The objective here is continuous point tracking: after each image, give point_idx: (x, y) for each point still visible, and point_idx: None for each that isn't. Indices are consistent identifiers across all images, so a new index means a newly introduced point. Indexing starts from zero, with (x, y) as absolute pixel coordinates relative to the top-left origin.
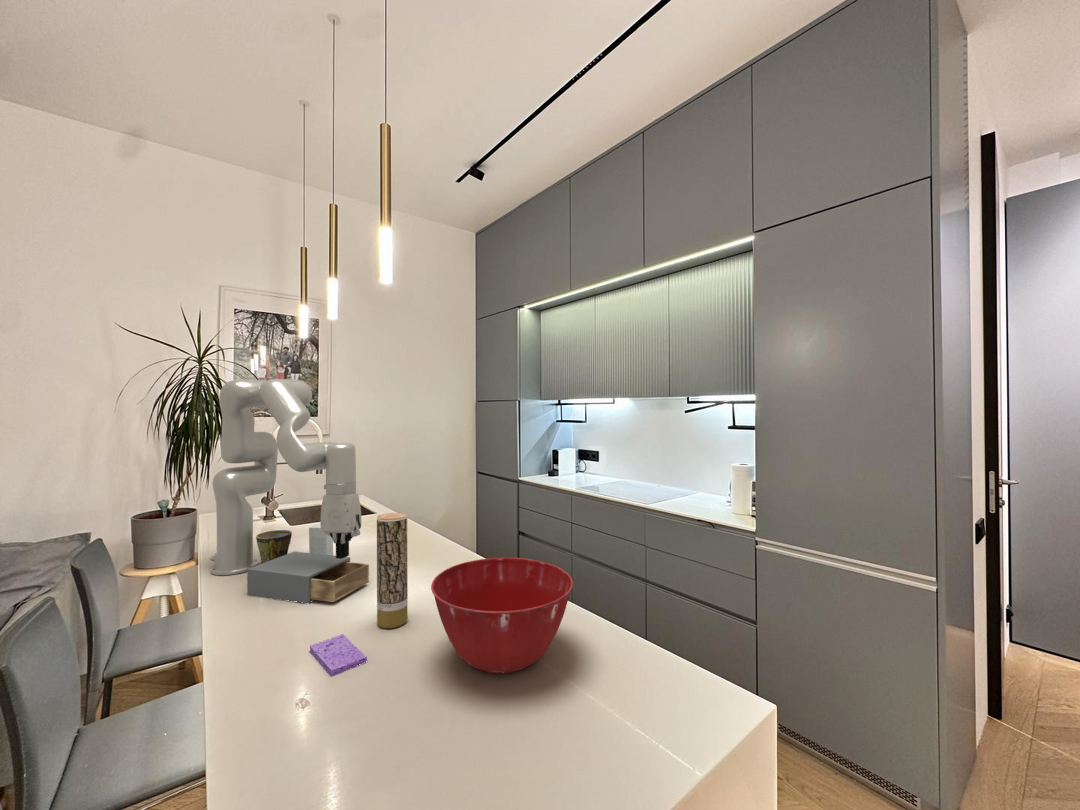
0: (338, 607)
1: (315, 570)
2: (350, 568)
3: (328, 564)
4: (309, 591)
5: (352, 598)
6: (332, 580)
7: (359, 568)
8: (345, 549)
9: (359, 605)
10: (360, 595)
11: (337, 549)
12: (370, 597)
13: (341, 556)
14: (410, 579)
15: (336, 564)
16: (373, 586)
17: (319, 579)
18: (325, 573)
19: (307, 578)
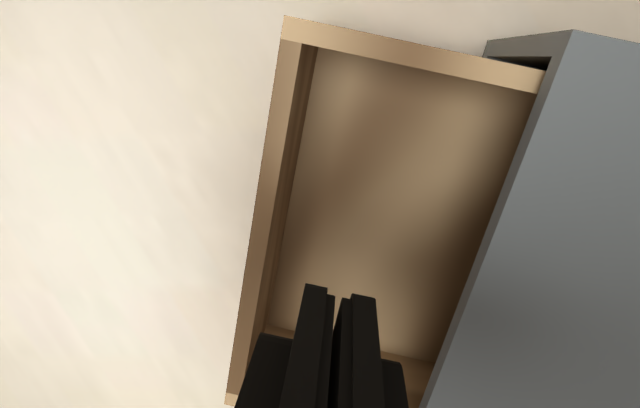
0: (267, 9)
1: (565, 209)
2: None
3: (503, 352)
4: (509, 51)
5: (255, 145)
6: None
7: (240, 326)
8: (243, 380)
9: (161, 51)
10: (233, 188)
11: (351, 367)
12: (164, 165)
13: (301, 301)
14: (99, 381)
15: (439, 365)
16: (229, 302)
17: (452, 74)
18: None
19: (570, 30)
